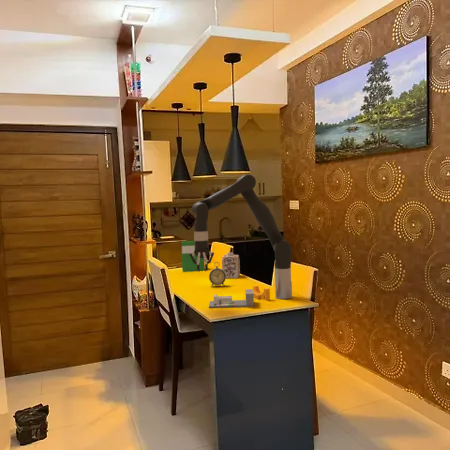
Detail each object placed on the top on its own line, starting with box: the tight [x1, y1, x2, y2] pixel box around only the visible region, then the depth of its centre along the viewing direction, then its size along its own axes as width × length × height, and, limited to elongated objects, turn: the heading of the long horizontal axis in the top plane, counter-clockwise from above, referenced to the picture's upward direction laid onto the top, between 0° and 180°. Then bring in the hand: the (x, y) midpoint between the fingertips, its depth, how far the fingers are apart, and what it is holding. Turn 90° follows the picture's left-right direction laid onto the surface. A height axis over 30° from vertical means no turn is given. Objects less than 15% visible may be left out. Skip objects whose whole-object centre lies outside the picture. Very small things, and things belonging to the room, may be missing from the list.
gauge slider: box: [212, 294, 233, 305], centre depth 226 cm, size 10×8×4 cm
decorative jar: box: [221, 252, 241, 279], centre depth 307 cm, size 12×12×18 cm
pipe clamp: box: [252, 285, 271, 301], centre depth 239 cm, size 12×4×6 cm, turn 34°
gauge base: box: [208, 288, 255, 309], centre depth 227 cm, size 24×11×7 cm, turn 89°
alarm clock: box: [208, 261, 227, 288], centre depth 276 cm, size 11×5×16 cm, turn 88°
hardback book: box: [180, 240, 206, 273], centre depth 339 cm, size 18×7×24 cm, turn 100°
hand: (202, 271), depth 226 cm, fingers open, 3 cm apart
